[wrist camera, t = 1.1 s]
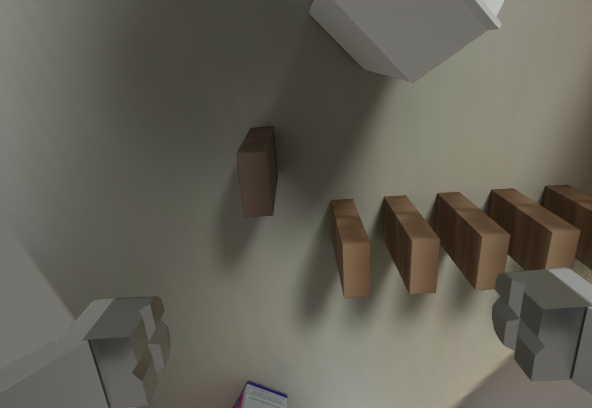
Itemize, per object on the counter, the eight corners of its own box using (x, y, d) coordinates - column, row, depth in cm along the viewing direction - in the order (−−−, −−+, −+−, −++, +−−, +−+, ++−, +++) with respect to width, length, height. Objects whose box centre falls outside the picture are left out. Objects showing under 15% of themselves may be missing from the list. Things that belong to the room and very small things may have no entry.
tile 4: (434, 236, 42) (475, 290, 32) (437, 193, 40) (482, 236, 30) (455, 235, 42) (502, 288, 32) (459, 191, 40) (510, 234, 30)
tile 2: (332, 243, 42) (344, 298, 32) (331, 200, 40) (342, 245, 31) (353, 241, 42) (370, 296, 32) (352, 198, 40) (370, 243, 31)
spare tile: (255, 177, 39) (244, 217, 30) (250, 128, 37) (236, 153, 28) (277, 176, 39) (273, 215, 30) (273, 126, 37) (266, 151, 28)
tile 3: (383, 240, 42) (409, 294, 32) (384, 196, 40) (412, 241, 31) (403, 238, 42) (435, 292, 32) (405, 195, 40) (440, 239, 30)
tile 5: (485, 233, 41) (541, 286, 32) (491, 189, 40) (552, 232, 30) (506, 232, 41) (568, 284, 32) (513, 188, 40) (580, 230, 30)
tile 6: (537, 230, 41) (608, 281, 32) (545, 186, 40) (623, 227, 30) (558, 228, 41) (635, 280, 32) (567, 184, 40) (651, 225, 30)
